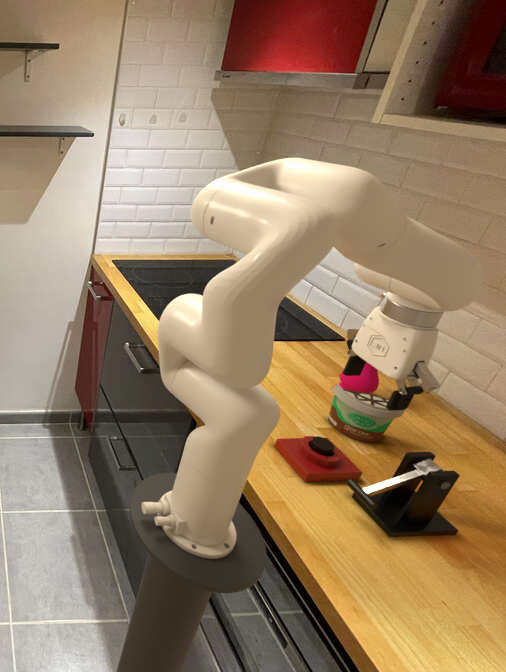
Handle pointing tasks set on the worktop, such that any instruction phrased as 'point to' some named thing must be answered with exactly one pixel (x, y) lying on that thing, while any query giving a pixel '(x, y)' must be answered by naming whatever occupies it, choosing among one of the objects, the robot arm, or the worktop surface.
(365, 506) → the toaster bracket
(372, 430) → the food container
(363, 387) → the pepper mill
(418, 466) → the lever
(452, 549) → the worktop surface
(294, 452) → the block
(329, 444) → the stop button
